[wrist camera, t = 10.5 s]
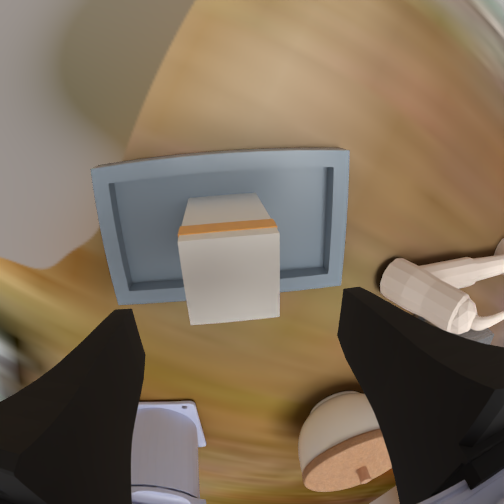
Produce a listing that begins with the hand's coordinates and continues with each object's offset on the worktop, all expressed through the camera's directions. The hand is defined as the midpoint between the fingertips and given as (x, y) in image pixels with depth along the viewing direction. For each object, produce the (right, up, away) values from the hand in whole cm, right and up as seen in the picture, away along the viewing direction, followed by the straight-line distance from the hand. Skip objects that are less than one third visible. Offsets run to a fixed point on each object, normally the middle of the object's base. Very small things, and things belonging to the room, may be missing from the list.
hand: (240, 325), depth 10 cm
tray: (-1, +4, +9) cm, 10 cm away
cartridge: (-1, +4, +9) cm, 10 cm away
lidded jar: (+9, -14, +19) cm, 25 cm away
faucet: (+19, +2, +14) cm, 23 cm away
